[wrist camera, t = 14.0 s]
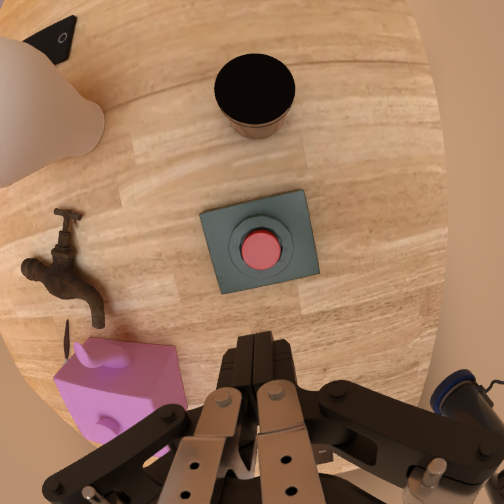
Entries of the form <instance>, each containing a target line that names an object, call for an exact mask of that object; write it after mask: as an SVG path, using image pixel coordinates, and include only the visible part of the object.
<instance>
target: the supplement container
mask: <svg viewBox="0 0 504 504" xmlns="http://www.w3.org/2000/svg"><path fill="white" fill-rule="evenodd" d="M214 93H215V98H216V101H217V103H218V105H219V107H220V109H221V111H222V112H223V113H224V115H225V116H226V117H227V119H228V121H229V122H230V124H231V126H232V127H233V129H234V130H235V131H236V132H237V133H239V134H240V135H242V136H244V137H247V138H251V139H263V138H266V137H269V136H271V135H273V134H274V133H276V132H277V131H278V130H279V129H280V127H281V126H282V124H283V122H284V120H285V117H286V115H287V113H288V111H289V109H290V107H291V105H292V102H293V99H294V96H295V82H294V79H293V76H292V74H291V72H290V71H289V69H288V68H287V67H286V66H285V65H284V64H283V63H282V62H280V61H279V60H277V59H276V58H273V57H271V56H268V55H265V54H245V55H242V56H239V57H236V58H234V59H232V60H231V61H229V62H228V63H227V64H226V65H225V66H224V67H223V68H222V69H221V70H220V72H219V74H218V75H217V78H216V81H215V86H214Z"/></svg>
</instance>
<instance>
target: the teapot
mask: <svg viewBox="0 0 504 504" xmlns="http://www.w3.org/2000/svg"><path fill="white" fill-rule="evenodd" d="M74 350H75V354H74V355H73V356H72V357H71V358H70V359H69V360H68V361H67V362H66V363H65V365H64V366H63V367H62V368H61V369H60V370H59V371H58V372H57V373H56V375H55V376H54V377H53V379H54V381H55V383H56V385H57V388H58V390H59V392H60V394H61V396H62V398H63V400H64V402H65V404H66V406H67V408H68V410H69V412H70V414H71V416H72V418H73V419H74V421H75V423H76V425H77V426H78V428H79V430H80V431H81V433H82V435H83V436H84V438H85V439H88V440H91V441H94V442H97V443H101V444H106V443H107V442H109V441H110V440H112V439H113V438H115V437H117V436H118V435H120V434H121V433H123V432H124V431H126V430H127V429H129V428H130V427H132V426H133V425H135V424H136V423H138V422H139V421H141V420H142V419H144V418H145V417H146V416H148V415H149V414H151V413H152V412H154V411H155V410H156V409H158V408H159V407H161V406H163V405H166V404H174V403H175V404H179V405H181V406H183V407H184V409H185V411H187V408H188V406H187V402H186V397H185V393H184V388H183V384H182V379H181V374H180V369H179V364H178V358H177V353H176V347H175V346H167V345H154V344H143V343H133V342H124V341H115V340H107V339H100V338H92V337H90V338H89V339H88V340H87V341H86V342H85V343H84V344H83V345H81V344H79V343H78V342H75V343H74ZM168 451H170V448H169V447H168V446H166V447H164V448H163V449H161V450H160V451H159V452H157V453H156V454H155V455H153V456H156V457H162V456H163V455H164V454H166V453H167V452H168Z"/></svg>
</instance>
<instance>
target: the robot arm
mask: <svg viewBox="0 0 504 504" xmlns="http://www.w3.org/2000/svg"><path fill="white" fill-rule="evenodd" d="M494 383H498V384H504V381H500V380H493V381H492V382H491V384H490V386H489V387H488V388H487V389H486V390H485V389H484V387H483V386H482V385H480V386H479V385H478V384H477V382H476V381H475V380H474V379H472V380H469V379H464V380H461V381H459V382H457V383H456V384H454V385H453V386H452V387H450V388H449V389H448V390H447V391H446V393H445V394H444V395H443V396H442V398H441V400H440V402H439V405H438V408H439V410H440V412H441V413H442V414H443V416H442V415H439V414H436V413H433V412H430V411H427V410H424V409H421V408H418V407H415V406H412V405H410V404H407V403H404V402H401V401H399V400H396V399H393V398H391V397H388V396H385V395H383V394H380V393H378V392H375V391H372V390H370V389H367V388H365V387H363V386H360V385H358V384H355V383H353V382H350V381H346V380H337V381H332V382H330V383H328V384H326V385H324V386H323V387H322V388H321V389H320V390H319V391H308V390H304V389H302V388H300V387H299V386H298V385H297V378H296V371H295V366H294V361H293V357H292V352H291V347H290V344H289V343H288V342H287V341H286V340H285V339H281V340H276V341H274V339H273V335H272V332H271V331H266V332H261V333H256V334H250V335H245V336H239V337H238V340H237V347H236V348H231V349H228V351H227V352H226V353H225V354H224V355H223V359H222V365H221V368H220V373H219V378H218V383H217V388H216V390H215V391H213V392H212V393H210V394H209V395H208V396H207V398H206V400H205V403H204V405H203V406H201V407H198V408H195V409H192V410H188V411H185V409H184V407H183V406H181V405H179V404H175V403H174V404H166V405H163V406H161V407H159V408H158V409H156V410H155V411H154V412H152V413H151V414H149V415H148V416H146V417H145V418H144V419H142V420H141V421H139V422H138V423H136V424H135V425H133V426H132V427H130V428H129V429H127V430H126V431H124V432H123V433H121V434H120V435H118V436H117V437H115V438H113V439H112V440H110V441H109V442H107V443H106V444H104V445H102V446H101V447H99V448H98V449H96V450H94V451H93V452H91V453H89V454H88V455H86V456H85V457H83V458H81V459H79V460H78V461H76V462H74V463H73V464H71V465H69V466H68V467H66V468H64V469H62V470H60V471H59V472H57V473H55V474H53V475H52V476H50V477H48V478H47V479H46V480H45V482H44V484H43V486H42V493H43V496H44V497H45V498H46V499H47V500H48V501H49V502H51V503H52V504H386V503H385V502H383V501H381V500H379V499H377V498H376V497H374V496H372V495H370V494H369V493H367V492H365V491H364V490H362V489H360V488H359V487H357V486H355V485H353V484H352V483H350V482H349V481H347V480H345V479H342V478H340V477H337V476H334V475H330V474H324V473H318V470H317V466H316V462H315V459H314V455H313V451H312V447H311V444H325V446H326V448H327V449H328V450H330V451H332V452H333V453H335V454H337V455H338V456H340V457H342V458H344V459H345V460H347V461H349V462H351V463H353V464H354V465H356V466H358V467H360V468H362V469H364V470H366V471H368V472H370V473H371V474H373V475H376V476H377V477H379V478H381V479H383V480H386V481H388V482H390V483H392V484H394V485H396V486H398V487H400V488H403V489H404V490H403V493H402V500H403V503H404V504H473V502H474V500H475V498H476V497H477V495H478V493H479V491H480V490H481V488H482V487H483V486H484V488H485V490H486V492H487V495H488V497H489V500H490V502H491V504H504V469H503V470H502V471H501V472H500V473H498V474H497V473H496V471H497V468H498V467H499V465H500V464H501V462H502V461H503V460H504V423H503V422H502V420H501V419H500V418H499V416H498V415H497V414H496V412H495V411H494V410H493V405H494V404H493V402H492V401H491V400H490V398H489V397H488V396H487V394H486V393H487V392H488V391H489V390H490V389H491V388H492V386H493V384H494ZM258 425H259V426H260V433H258V434H257V426H258ZM166 446H168V447H169V448H170V451H168V452H167V453H166V454H164V455H163V456H162V457H160V458H159V459H158V460H156V461H155V462H153V463H152V464H151V465H149V466H148V467H145V468H143V464H144V462H145V461H146V460H148V459H149V458H150V457H152V456H153V455H155V454H156V453H157V452H159V451H160V450H161V449H163V448H164V447H166ZM257 448H258V456H259V469H260V476H258V477H255V478H254V471H255V464H256V456H257Z"/></svg>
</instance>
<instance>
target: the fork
mask: <svg viewBox="0 0 504 504" xmlns="http://www.w3.org/2000/svg"><path fill="white" fill-rule="evenodd" d="M64 352H65V360H66V362H67V361H68V354H69V329H68V320H67V321H66V328H65V336H64ZM66 362H65V363H66ZM65 363H64V364H63V366H64V365H65ZM63 366H62V367H63Z"/></svg>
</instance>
